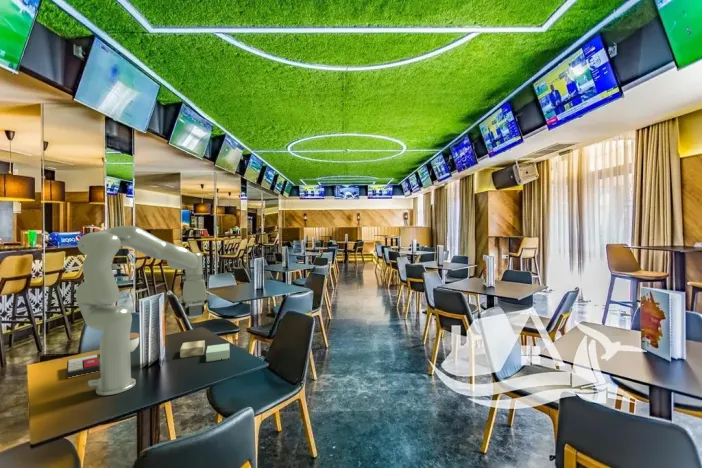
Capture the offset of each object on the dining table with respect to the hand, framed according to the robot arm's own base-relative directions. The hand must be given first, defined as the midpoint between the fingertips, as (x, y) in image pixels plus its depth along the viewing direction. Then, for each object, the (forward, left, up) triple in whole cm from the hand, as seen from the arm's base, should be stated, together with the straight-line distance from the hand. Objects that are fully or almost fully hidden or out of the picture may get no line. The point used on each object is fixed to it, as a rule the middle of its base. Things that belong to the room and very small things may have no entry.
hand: (194, 314), depth 165 cm
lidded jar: (-33, +17, -20) cm, 42 cm away
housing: (0, 0, -1) cm, 1 cm away
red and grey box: (-45, -3, -20) cm, 49 cm away
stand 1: (-1, +1, -19) cm, 19 cm away
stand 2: (+11, -9, -19) cm, 24 cm away
